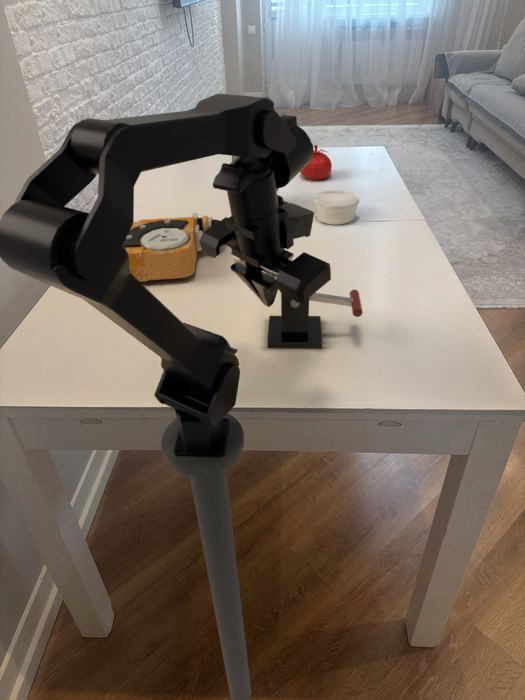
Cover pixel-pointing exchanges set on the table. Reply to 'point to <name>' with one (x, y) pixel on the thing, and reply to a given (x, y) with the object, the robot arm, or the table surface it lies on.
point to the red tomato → (317, 166)
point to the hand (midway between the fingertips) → (269, 304)
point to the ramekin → (335, 206)
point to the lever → (341, 301)
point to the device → (165, 246)
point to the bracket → (294, 326)
